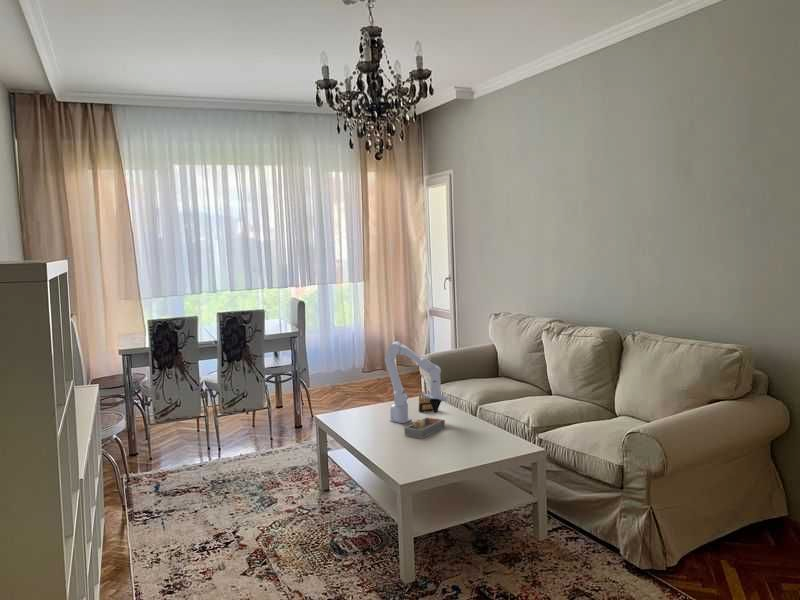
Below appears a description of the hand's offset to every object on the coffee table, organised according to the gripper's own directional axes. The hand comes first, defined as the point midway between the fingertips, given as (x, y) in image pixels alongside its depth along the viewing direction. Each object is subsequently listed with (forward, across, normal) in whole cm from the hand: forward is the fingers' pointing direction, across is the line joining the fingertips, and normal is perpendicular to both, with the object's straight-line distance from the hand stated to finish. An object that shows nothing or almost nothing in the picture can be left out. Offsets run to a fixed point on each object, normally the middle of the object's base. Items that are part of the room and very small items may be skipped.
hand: (435, 412), depth 339 cm
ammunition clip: (+6, -15, +16) cm, 23 cm away
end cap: (+5, +4, -7) cm, 9 cm away
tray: (+5, +4, -18) cm, 19 cm away
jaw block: (+5, +4, -22) cm, 23 cm away
